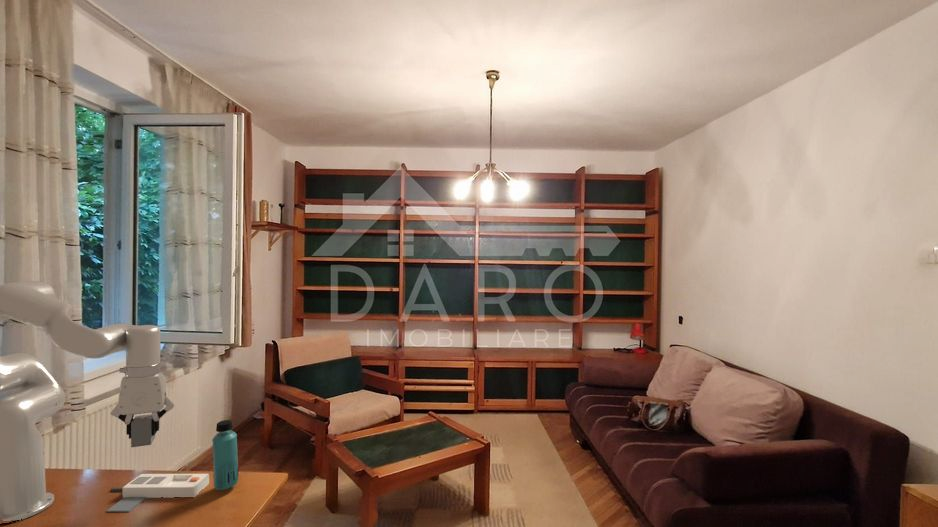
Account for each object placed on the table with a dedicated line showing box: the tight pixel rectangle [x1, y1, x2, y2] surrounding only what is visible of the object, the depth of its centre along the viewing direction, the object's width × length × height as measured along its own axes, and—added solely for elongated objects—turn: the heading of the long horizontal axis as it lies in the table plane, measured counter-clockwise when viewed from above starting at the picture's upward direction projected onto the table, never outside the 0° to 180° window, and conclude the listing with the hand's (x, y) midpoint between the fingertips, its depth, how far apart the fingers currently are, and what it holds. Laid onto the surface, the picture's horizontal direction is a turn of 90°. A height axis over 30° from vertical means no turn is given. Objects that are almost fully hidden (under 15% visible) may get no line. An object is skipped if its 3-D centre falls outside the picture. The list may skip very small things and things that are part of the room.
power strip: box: [110, 473, 210, 499], centre depth 122 cm, size 26×7×4 cm, turn 91°
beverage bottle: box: [211, 419, 240, 491], centre depth 123 cm, size 6×7×20 cm
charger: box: [130, 413, 156, 448], centre depth 117 cm, size 4×4×7 cm
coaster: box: [106, 497, 147, 513], centre depth 115 cm, size 6×6×1 cm
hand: (143, 434), depth 117 cm, fingers closed on charger, 4 cm apart
